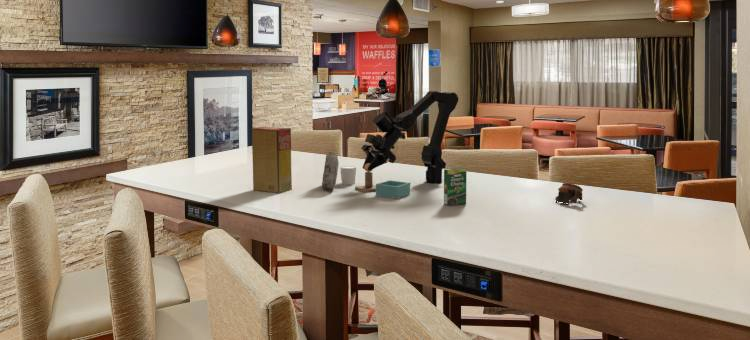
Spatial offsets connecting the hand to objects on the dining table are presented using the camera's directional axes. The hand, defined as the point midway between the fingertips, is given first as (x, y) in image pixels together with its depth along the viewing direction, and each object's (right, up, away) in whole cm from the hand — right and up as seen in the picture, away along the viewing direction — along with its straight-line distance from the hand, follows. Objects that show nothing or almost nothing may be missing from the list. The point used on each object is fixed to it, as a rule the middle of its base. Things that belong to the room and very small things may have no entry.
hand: (365, 169), depth 230 cm
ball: (+1, -1, +1) cm, 2 cm away
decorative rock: (-15, -8, +5) cm, 17 cm away
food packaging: (-37, -8, +2) cm, 38 cm away
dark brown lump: (+75, -13, -20) cm, 78 cm away
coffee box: (+32, -13, -23) cm, 42 cm away
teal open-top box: (+11, -10, -7) cm, 16 cm away
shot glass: (-8, -6, +16) cm, 18 cm away
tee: (+1, -8, +2) cm, 9 cm away
